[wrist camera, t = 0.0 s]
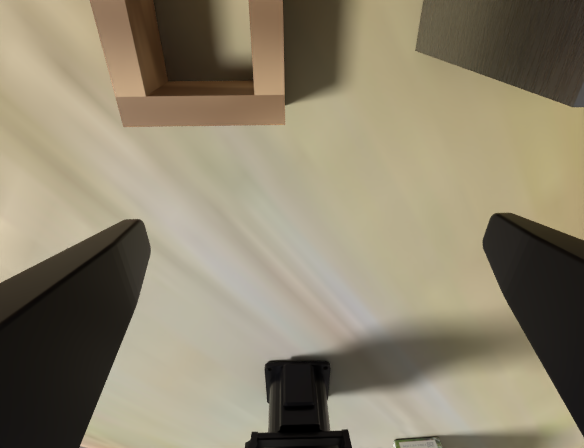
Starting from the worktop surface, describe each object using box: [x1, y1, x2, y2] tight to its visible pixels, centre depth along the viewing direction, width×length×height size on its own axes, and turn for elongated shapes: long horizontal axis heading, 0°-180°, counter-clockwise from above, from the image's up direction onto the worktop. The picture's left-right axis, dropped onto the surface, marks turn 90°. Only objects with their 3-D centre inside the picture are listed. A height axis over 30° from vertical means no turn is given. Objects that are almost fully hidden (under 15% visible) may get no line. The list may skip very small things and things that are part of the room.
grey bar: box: [415, 0, 584, 107], centre depth 14 cm, size 4×2×13 cm, turn 0°
